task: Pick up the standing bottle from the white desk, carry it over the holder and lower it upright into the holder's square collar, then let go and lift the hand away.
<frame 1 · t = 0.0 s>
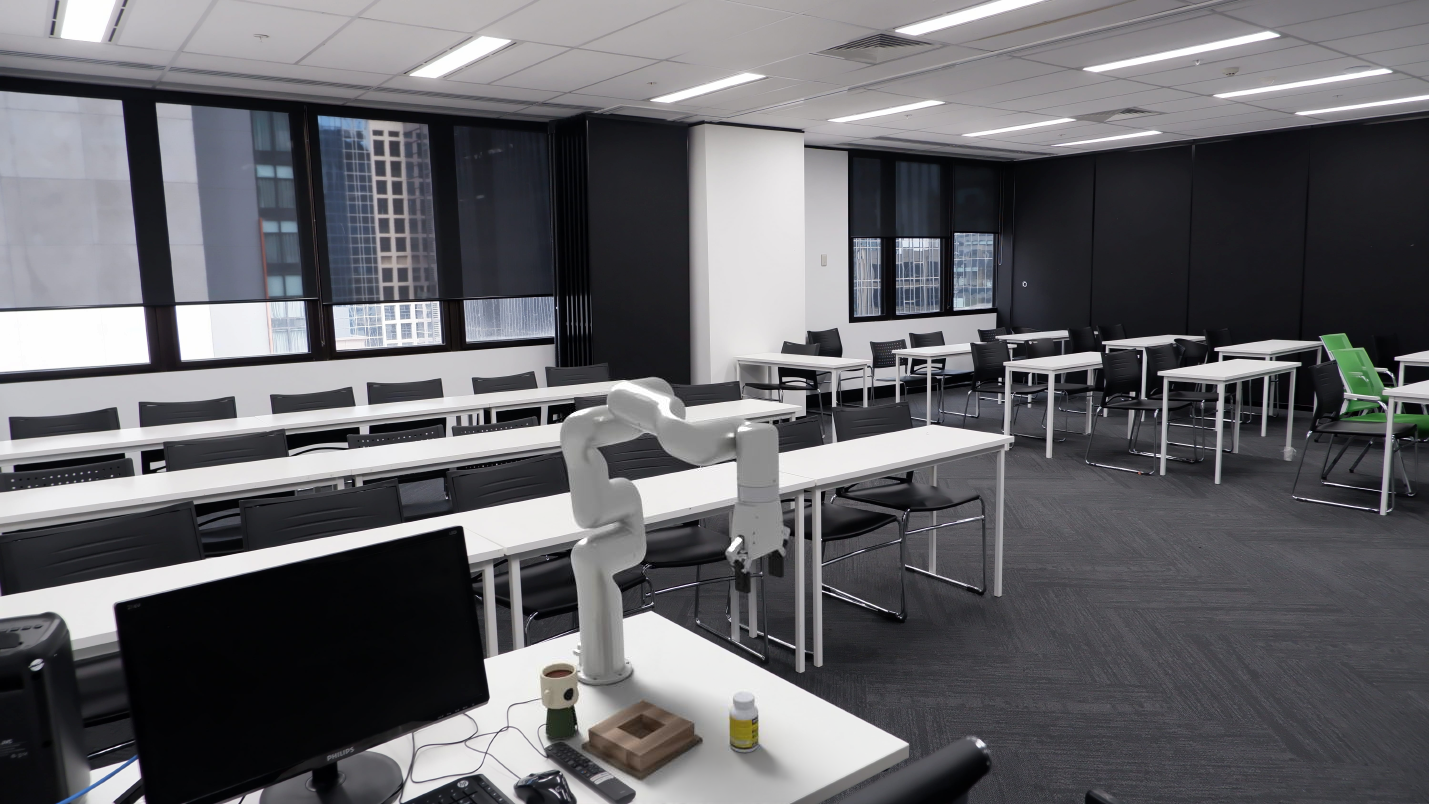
hand: (759, 583, 156), 31 cm above the table, tool pointing down, fingers open, 9 cm apart
supplement bottle: (744, 746, 160), on the table
character mug: (562, 734, 166), on the table
bottle holder: (642, 744, 161), on the table
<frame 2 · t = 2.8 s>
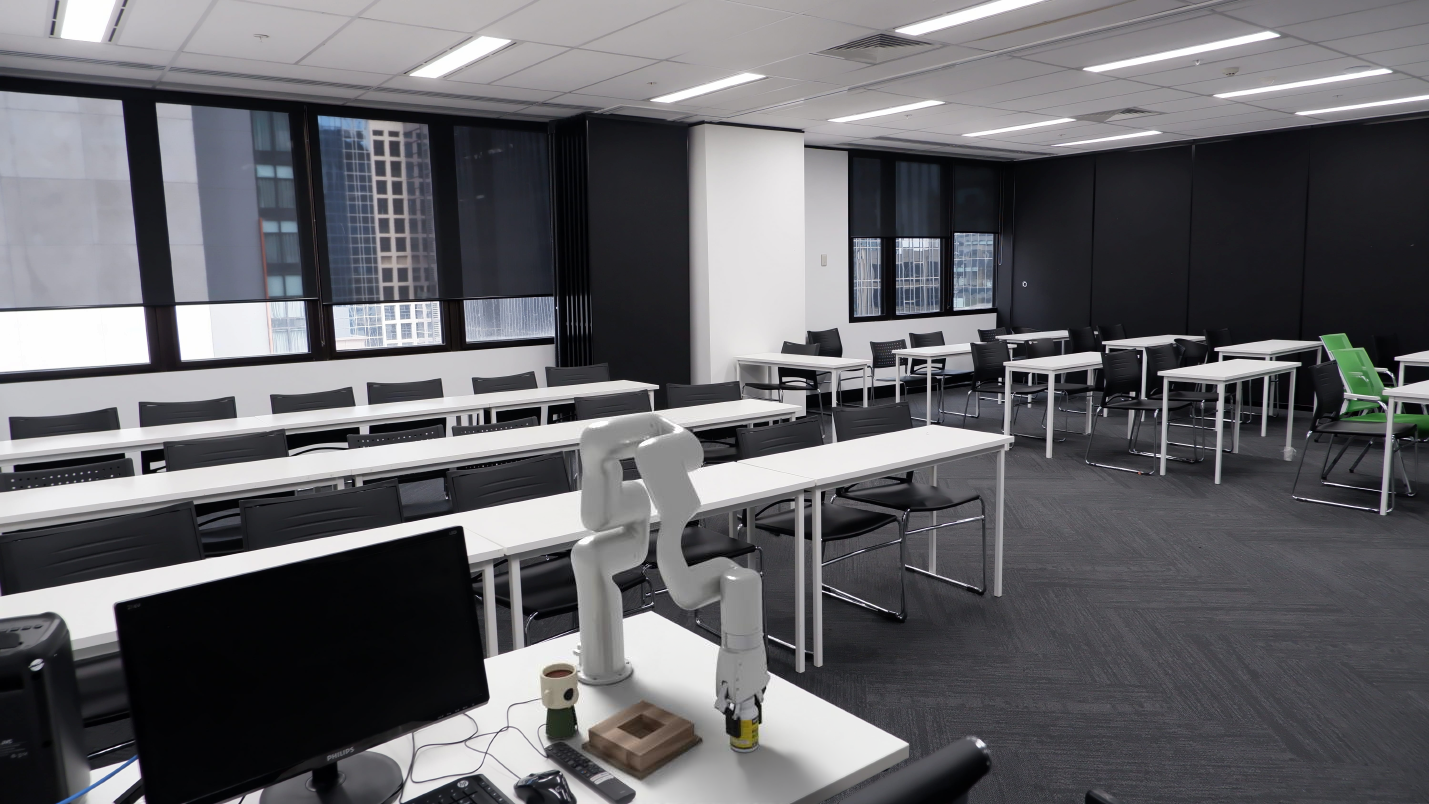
hand: (744, 727, 160), 4 cm above the table, tool pointing down, fingers closed on supplement bottle, 5 cm apart
supplement bottle: (744, 746, 160), on the table, touching gripper
everything else where it was.
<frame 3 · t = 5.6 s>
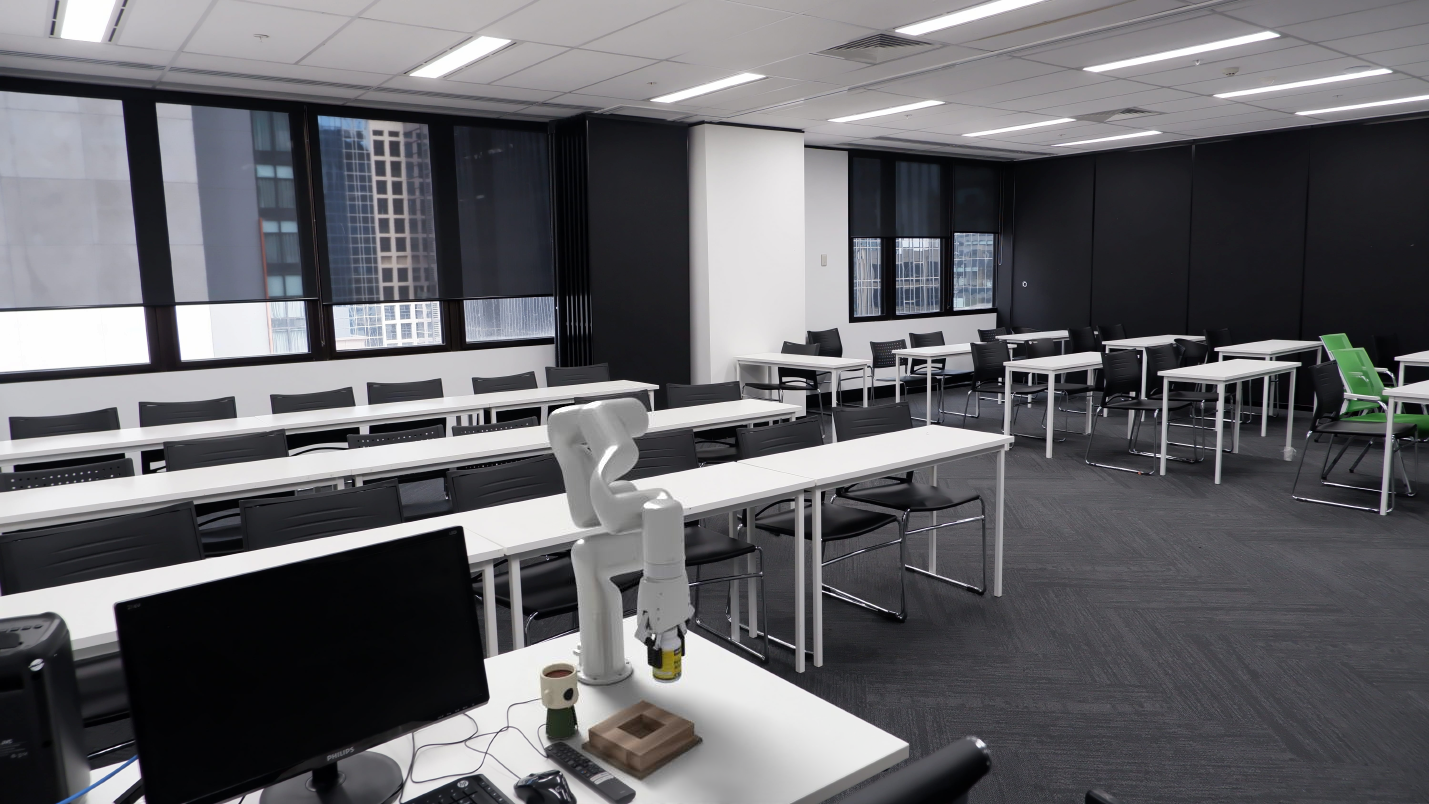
hand: (666, 659, 159), 17 cm above the table, tool pointing down, fingers closed on supplement bottle, 5 cm apart
supplement bottle: (667, 678, 159), point 13 cm above the table, touching gripper
everything else where it was.
when the fingers open (5 cm above the table, at t = 8.6 s): supplement bottle drops 1 cm, resting on bottle holder.
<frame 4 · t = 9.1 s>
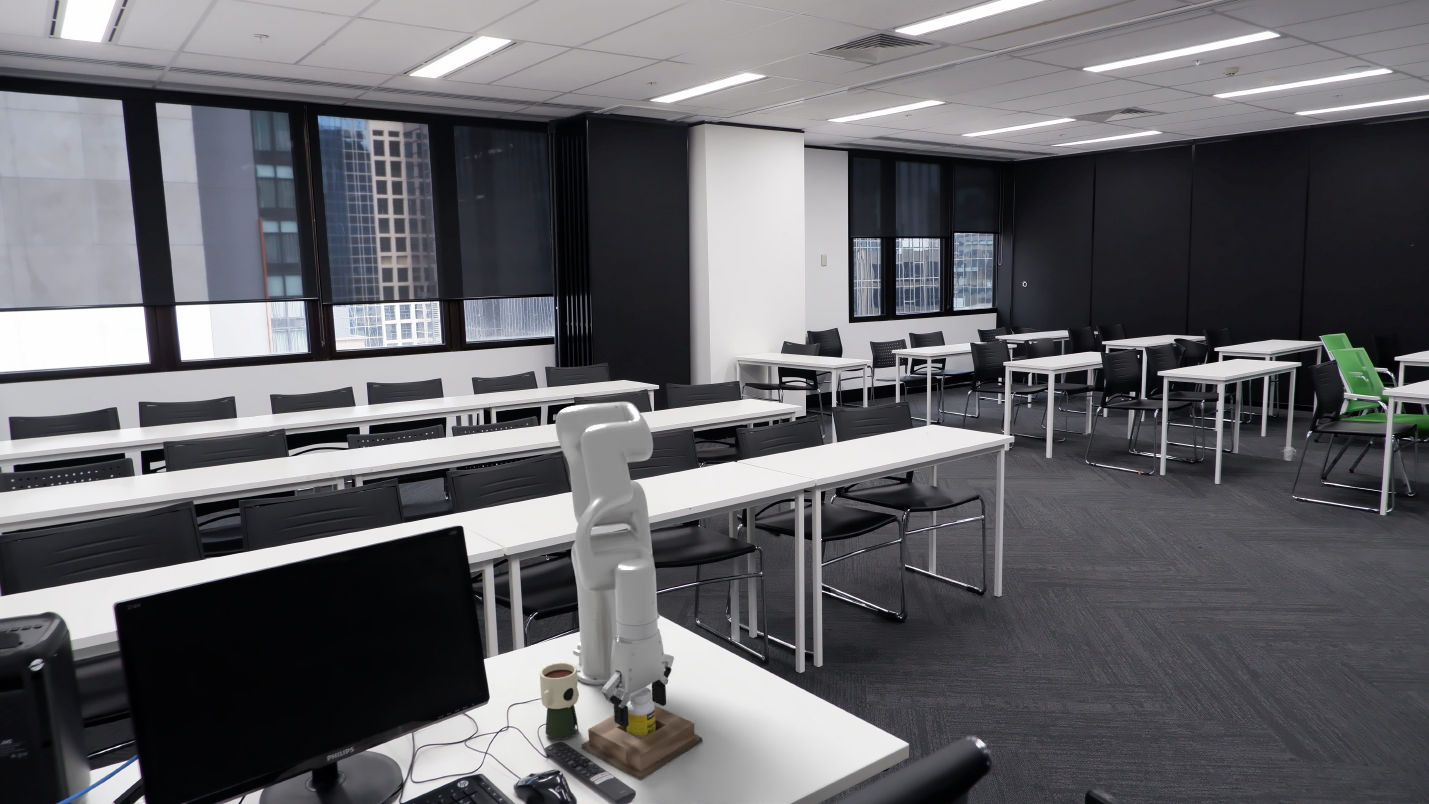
hand: (640, 713, 160), 6 cm above the table, tool pointing down, fingers open, 9 cm apart
supplement bottle: (641, 741, 161), point 1 cm above the table, touching bottle holder
everything else where it was.
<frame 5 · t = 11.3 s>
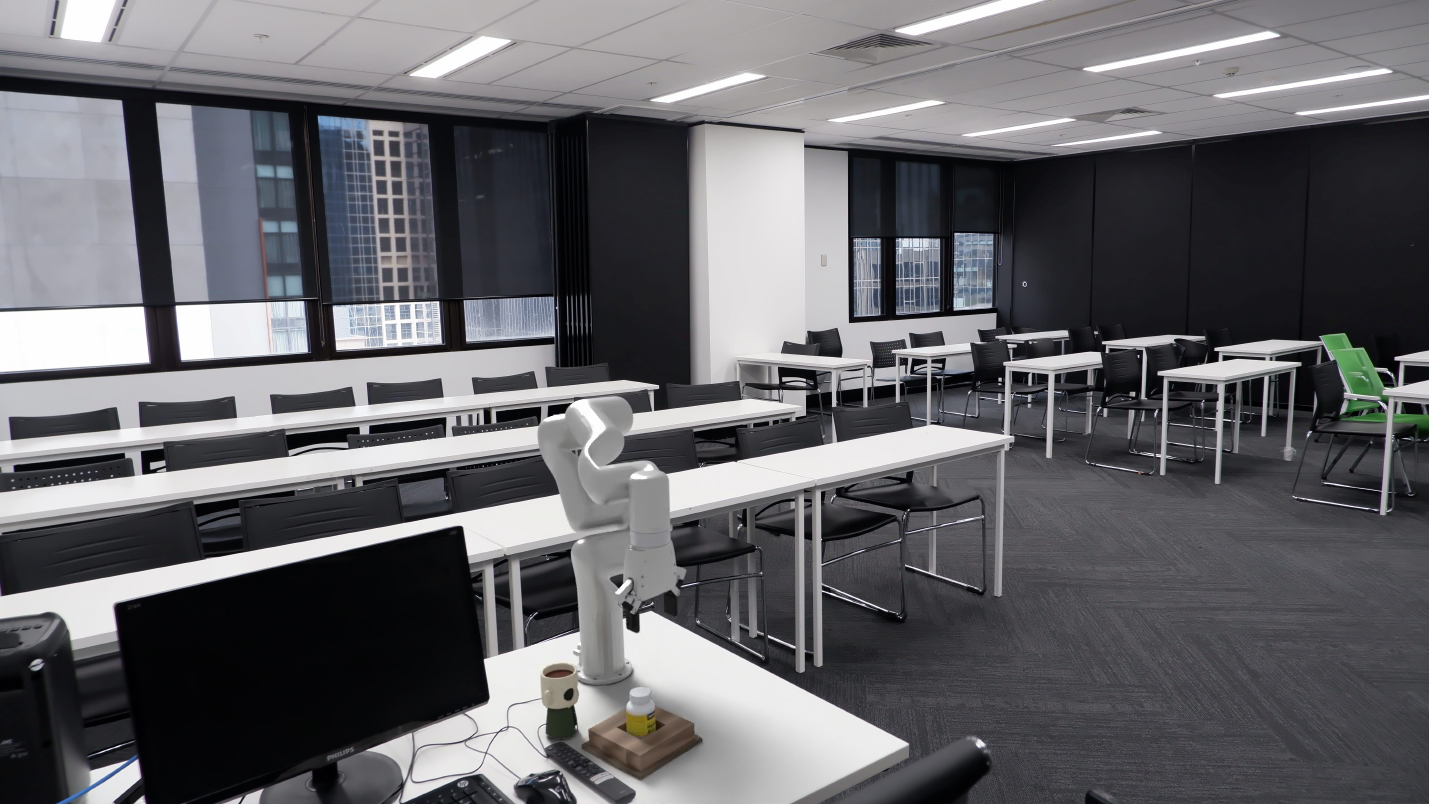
hand: (652, 622, 163), 22 cm above the table, tool pointing down, fingers open, 9 cm apart
nothing on the table moved.
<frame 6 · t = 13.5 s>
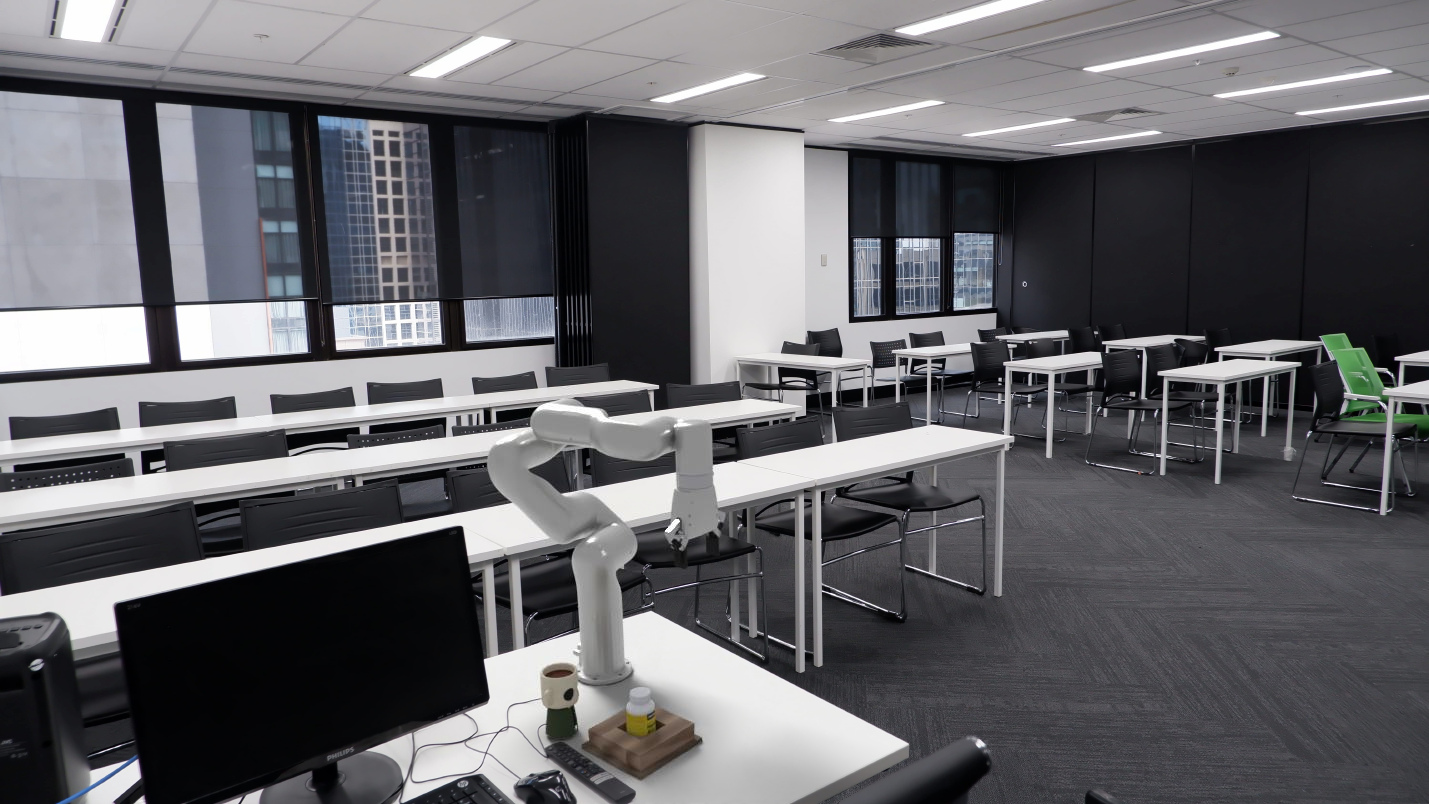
hand: (697, 560, 178), 28 cm above the table, tool pointing down, fingers open, 9 cm apart
nothing on the table moved.
at the end: supplement bottle 0.1 cm off-centre on the bottle holder, point 0.6 cm above the bottle holder's base; supplement bottle tilted 0°; the gripper is holding nothing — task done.
